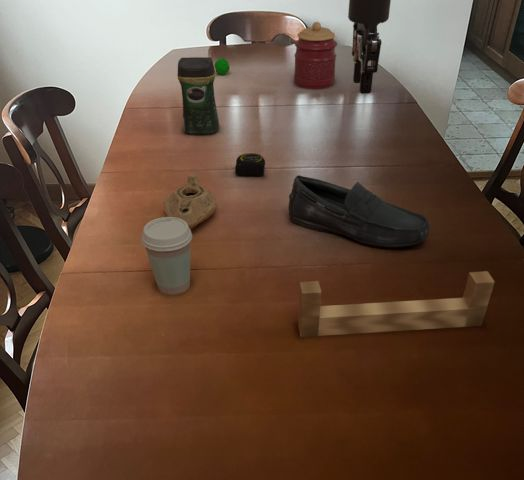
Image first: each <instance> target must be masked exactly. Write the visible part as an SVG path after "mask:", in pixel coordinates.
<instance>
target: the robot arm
mask: <svg viewBox="0 0 524 480" xmlns="http://www.w3.org/2000/svg"><path fill="white" fill-rule="evenodd" d="M391 1H392V0H348V13H347V18H348V20H349V21H350V22H352V23H353V24H352V28H353V31H352V48H351V49H352V50H351V56H352V57H353V58H352V60H353V62H354V64H353V66H354V67H353V74H352V75H353V76H352V81H353V83H354V84H359V93H360V94H361V95H364V94H367V95H368V94H371V92H372V86H373V78H374V74H375V73H378V70H379V63H380V62H379V60H380V54H381V47H382V39H381V38H380V33H379V32H378V25H379V24H385V23H386V22H388V21H389V18H390V12H391V11H390V10H391ZM369 62H370V65H369Z"/></svg>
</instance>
